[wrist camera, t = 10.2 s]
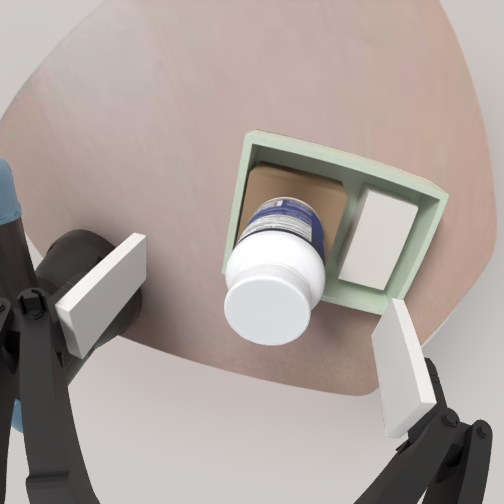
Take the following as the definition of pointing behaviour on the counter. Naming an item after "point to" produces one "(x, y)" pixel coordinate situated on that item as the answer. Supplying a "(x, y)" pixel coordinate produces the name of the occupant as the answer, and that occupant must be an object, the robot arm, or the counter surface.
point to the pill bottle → (276, 272)
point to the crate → (346, 210)
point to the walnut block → (296, 195)
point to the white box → (375, 236)
